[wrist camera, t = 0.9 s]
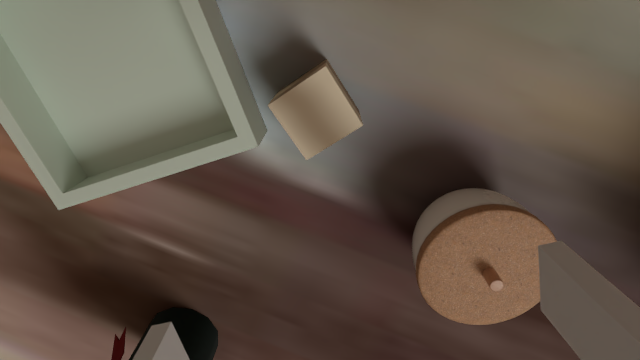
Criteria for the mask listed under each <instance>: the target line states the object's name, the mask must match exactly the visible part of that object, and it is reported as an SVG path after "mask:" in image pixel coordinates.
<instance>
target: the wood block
mask: <svg viewBox="0 0 640 360" xmlns="http://www.w3.org/2000/svg"><path fill="white" fill-rule="evenodd" d="M268 107H269V108H270V109H271V111H272V112H273V114H274V115H275V116H276V118H277V119H278V121H279V122H280V123H281V125H282V126H283V128H284V129H285V131H286V132H287V133H288V135H289V136H290V138H291V139H292V140H293V142H294V143H295V145H296V146H297V147H298V149H299V150H300V152H301V153H302V155H303V156H304V157H305V159H306V160H308V159H309V158H311V157H313V156H314V155H316V154H318V153H319V152H321V151H322V150H324V149H326V148H327V147H329V146H331V145H332V144H334V143H335V142H337V141H339V140H340V139H342V138H344V137H345V136H347V135H348V134H350V133H352V132H353V131H355V130H356V129H358V128H360V127H361V126H363V123H362V120H361V116H360V113H359V110H358V108H357V107H356V105H355V104H354V102H353V100H352V99H351V97H350V96H349V94H348V92H347V91H346V89H345V88H344V86H343V84H342V83H341V81H340V79H339V78H338V76H337V75H336V73H335V71H334V70H333V68H332V67H331V65H330V63H329V62H328V60H327V59H326V60H325V61H323V62H322V63H320V64H319V65H317V66H316V67H314V68H313V69H311V70H310V71H309V72H307V73H306V74H304V75H303V76H301V77H300V78H298V79H297V80H295V81H294V82H292V83H291V84H289V85H288V86H287V87H285V88H284V89H282V90H281V91H279V92H278V93H277V94H276V95H275V96H274V98H273V99H272V100H271V102H270V103H269V104H268Z"/></svg>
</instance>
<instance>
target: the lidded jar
mask: <svg viewBox="0 0 640 360" xmlns="http://www.w3.org/2000/svg"><path fill="white" fill-rule="evenodd" d="M553 242H557V241H556V239H555V237H554V235H553V233H552V232H551V231H550V230H549V228H548V227H547V226H546V225H545V224H544V223H543V222H542V221H540V220H539V219H538V218H537V217H536V216H534V215H533V214H531V213H530V212H529V211H528V210H526V209H525V208H524V207H523V206H522V205H520V204H519V203H517V202H516V201H514V200H512V199H511V198H509V197H507V196H505V195H503V194H500V193H498V192H495V191H492V190H487V189H481V188H465V189H460V190H455V191H452V192H449V193H447V194H445V195H443V196H441V197H439V198H438V199H436V200H435V201H433V202H432V203H431V204H430V205H429V206H428V207H427V208H426V209H425V210H424V212H423V213H422V214H421V216H420V218H419V219H418V221H417V224H416V226H415V229H414V232H413V238H412V258H413V263H414V268H415V272H416V278H417V283H418V286H419V289H420V291H421V294H422V296H423V297H424V299H425V300H426V302H427V303H428V304H429V305H430V306H431V307H432V308H433V309H434V310H435V311H436V312H438V313H439V314H440V315H442V316H444V317H446V318H448V319H450V320H454V321H457V322H460V323H465V324H474V325H484V324H493V323H499V322H502V321H506V320H509V319H512V318H514V317H516V316H519V315H521V314H522V313H524V312H526V311H528V310H529V309H531V308H532V307H533V306H535V305H536V304H537V303H538V302H539V301H540V278H539V256H538V246H539V245H543V244H548V243H553Z"/></svg>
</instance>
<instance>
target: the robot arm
mask: <svg viewBox="0 0 640 360" xmlns="http://www.w3.org/2000/svg"><path fill="white" fill-rule="evenodd" d="M538 256H539V278H540V300H541V311H542V312H543V313H544V314H545V316H546V317H547V318H548V319H549V321H550V322H551V323H552V324H553V326H554V327H555V328H556V329H557V331H558V332H559V333H560V334H561V335H562V337H563V338H564V339H565V340H566V342H567V343H568V344H569V345H570V347H571V348H572V349H573V350H574V352H575V353H576V354H577V355H578V357H579V358H580V359H581V360H640V307H638V306H637V305H636V304H635V303H634V302H633V301H631V300H630V299H629V298H628V297H627V296H626V295H624V294H623V293H622V292H621V291H620V290H618V289H617V288H616V287H615V286H614V285H613V284H611V283H610V282H609V281H608V280H607V279H606V278H604V277H603V276H602V275H601V274H600V273H598V272H597V271H596V270H595V269H594V268H593V267H591V266H590V265H589V264H588V263H587V262H586V261H584V260H583V259H582V258H581V257H580V256H579V255H577V254H576V253H575V252H574V251H573V250H571V249H570V248H569V247H568V246H567V245H566V244H564V243H563V242H562V241H558V242H553V243H548V244H543V245H539V246H538ZM133 360H190V359H189V357H188V355H187V353H186V351H185V349H184V347H183V345H182V343H181V341H180V338H179V336H178V334H177V332H176V330H175V328H174V326H173V324H172V322H167V323H162V324H157V325H153V326H151V328H150V330H149V331H148V333H147V335H146V337H145V338H144V340H143V342H142V344H141V345H140V347H139V349H138V351H137V353H136V354H135V356H134V358H133Z"/></svg>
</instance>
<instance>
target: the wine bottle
mask: <svg viewBox="0 0 640 360" xmlns="http://www.w3.org/2000/svg"><path fill="white" fill-rule="evenodd" d="M167 322H172V324H173V326H174V328H175V330H176V332H177V334H178V336H179V338H180V341H181V343H182V345H183V347H184V349H185V351H186V353H187V355H188V357H189V359H190V360H213V357H214V354H215V352H216V349H217V346H218V331H217V330H216V328H215V327H214V325H213V324H212V323H211V321H210V320H209V318H207V317H205V316H203V315H202V314H200V313H198V312H196V311H194V310H192V309H184V308H170V309H167V310H165V311H162V312H159V313H157V314H156V316H155V317H154V319H153V320H152V322H151V323H150V324H149V326H148V328H147V329H146V331H145V333H144V335H143V336H142V338H141V340H140V342H139V343H138V345H137V347H136V348H135V350H134V352H133V354H132V355H131V357H130V359H129V360H133V358H134V356H135V354H136V353H137V351H138V349H139V347H140V345H141V344H142V342H143V340H144V338H145V337H146V335H147V333H148V331H149V330H150V328H151V326H153V325H157V324H162V323H167ZM125 333H126V327H125V329H124V332H123V334H122V336H121V338H120V340H119V338H118V337H117V336H116V334H115V340H114V347H113V353H112V359H111V360H121V358H122V356H123V354H124V347H125Z"/></svg>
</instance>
